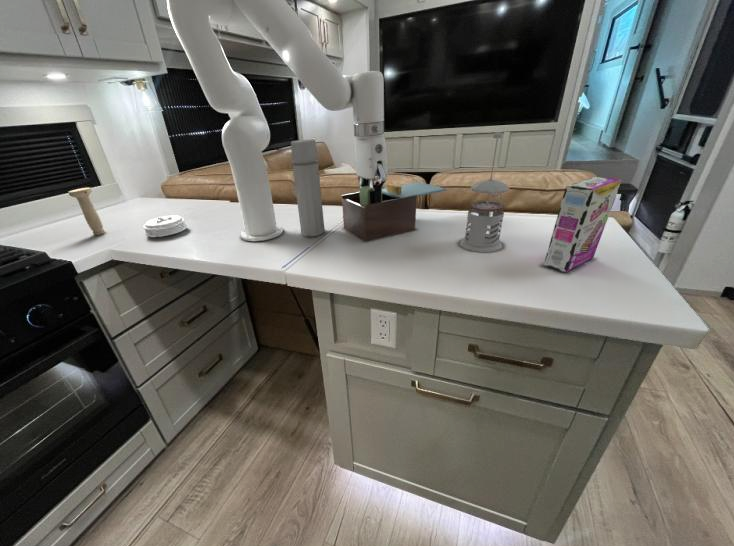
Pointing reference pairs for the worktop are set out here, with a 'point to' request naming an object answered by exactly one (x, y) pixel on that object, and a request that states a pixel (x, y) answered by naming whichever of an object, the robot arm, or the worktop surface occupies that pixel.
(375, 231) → the walnut box
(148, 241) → the worktop surface
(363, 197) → the block
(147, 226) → the lid
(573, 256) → the candy bar box
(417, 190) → the sliding box cover
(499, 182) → the french press
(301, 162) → the water bottle
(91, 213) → the handle
